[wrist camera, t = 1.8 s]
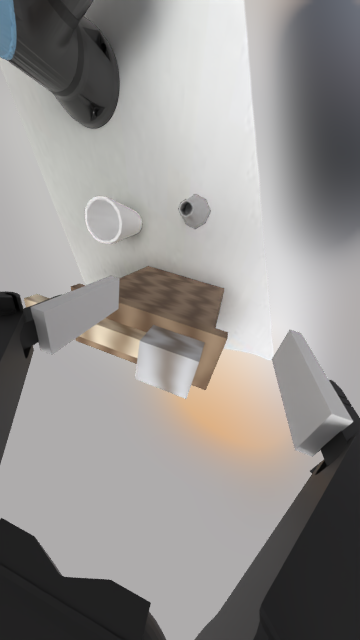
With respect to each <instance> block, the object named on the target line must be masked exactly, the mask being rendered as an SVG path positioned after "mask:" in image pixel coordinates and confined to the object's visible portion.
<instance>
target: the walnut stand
mask: <svg viewBox="0 0 360 640" xmlns="http://www.w3.org/2000/svg"><path fill="white" fill-rule="evenodd" d="M84 286H85V285H82V284H77V285H74V286H71V291H73V290H76V289H78V288H81V287H84ZM223 292H224V288H220V287H217V286H214V285H210V284H207V283H203V282H200V281H197V280H193V279H190V278H187V277H183V276H180V275H176V274H173V273H170V272H166V271H163V270H160V269H156V268H153V267H149V266H147V267H145V268H143V269H140V270H138V271H136V272H134V273H131V274H129V275H127V276H124V277H122V278H120V279H119V307H118V310H116V311H115V312H113V313H112V314H110V315H109V316H107V317H106V319H109V320H112V321H115V322H118V323H121V324H123V325H126V326H129V327H132V328H135V329H138V330H140V331H143V332H146V333H147V332H148V331H149V330H150V328H151V327H152V326H153V325H155V326H158V327H161V328H164V329H167V330H170V331H173V332H175V333H178V334H181V335H184V336H187V337H190V338H193V339H196V340H199V341H202V342H205V344H204V347H203V351H202V354H201V358H200V361H199V364H198V367H197V370H196V372H195V375H194V378H193V381H192V384H191V385H193V386H196V387H199V388H201V389H204V390H206V388H207V386H208V383H209V381H210V378H211V376H212V374H213V371H214V369H215V367H216V364H217V362H218V359H219V356H220V354H221V352H222V350H223V348H224V345H225V343H226V340H227V335H228V332H225V331H222V330H219V329H216V328H215V327H216V323H217V319H218V314H219V310H220V305H221V301H222V297H223ZM76 341H78V342H81V343H84V344H86V345H89V346H91V347H94V348H96V349H99V350H102V351H104V352H107V353H110V354H112V355H115V356H117V357H120V358H123V359H125V360H128V361H130V362H133V363H136V364H137V359H138V358H135V357H132V356H130V355H127V354H124V353H122V352H119V351H116V350H114V349H111V348H109V347H106V346H103V345H101V344H98V343H95V342H93V341H90V340H87V339H85V338H82V337H77V338H76Z"/></svg>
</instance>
